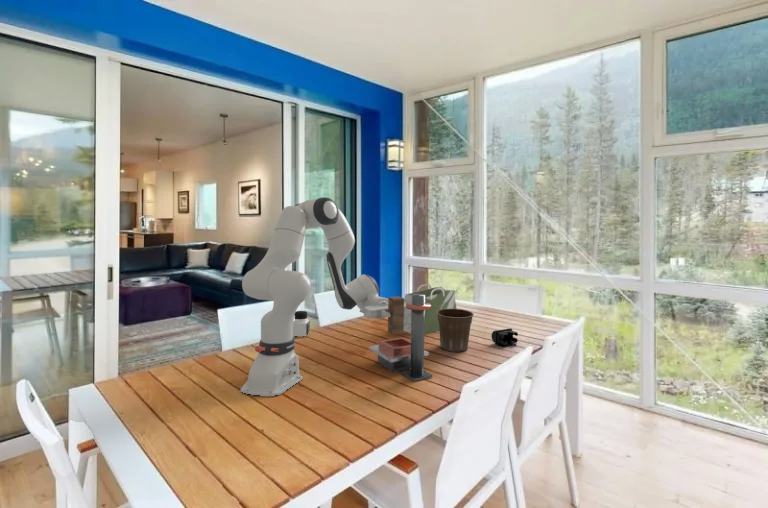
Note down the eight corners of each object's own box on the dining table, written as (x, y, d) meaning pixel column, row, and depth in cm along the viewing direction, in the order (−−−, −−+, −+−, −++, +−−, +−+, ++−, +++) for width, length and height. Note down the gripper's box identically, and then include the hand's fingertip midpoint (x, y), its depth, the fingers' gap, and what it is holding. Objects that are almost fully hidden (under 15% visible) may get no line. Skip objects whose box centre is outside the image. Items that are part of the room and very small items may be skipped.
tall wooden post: (387, 331, 160) (388, 297, 159) (397, 330, 163) (397, 296, 161) (393, 334, 156) (394, 299, 155) (403, 333, 159) (404, 298, 157)
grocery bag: (417, 336, 197) (418, 290, 195) (398, 330, 208) (399, 286, 206) (460, 326, 217) (461, 284, 215) (441, 321, 228) (442, 280, 226)
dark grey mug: (506, 340, 192) (507, 326, 192) (518, 344, 186) (518, 330, 185) (490, 343, 188) (491, 329, 187) (501, 347, 181) (502, 333, 181)
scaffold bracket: (369, 361, 162) (369, 287, 159) (404, 354, 170) (405, 284, 168) (404, 384, 139) (405, 299, 137) (443, 375, 148) (444, 295, 145)
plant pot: (472, 355, 170) (474, 318, 169) (434, 352, 174) (435, 315, 172) (472, 343, 186) (473, 309, 185) (437, 341, 190) (438, 307, 188)
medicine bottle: (306, 337, 193) (306, 313, 192) (291, 337, 193) (291, 312, 192) (309, 333, 200) (309, 309, 199) (295, 333, 201) (295, 309, 200)
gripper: (357, 302, 164) (374, 309, 153) (400, 298, 175) (418, 304, 163) (357, 317, 165) (373, 325, 153) (399, 312, 175) (418, 319, 163)
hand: (397, 314), depth 158 cm, fingers closed on tall wooden post, 4 cm apart
